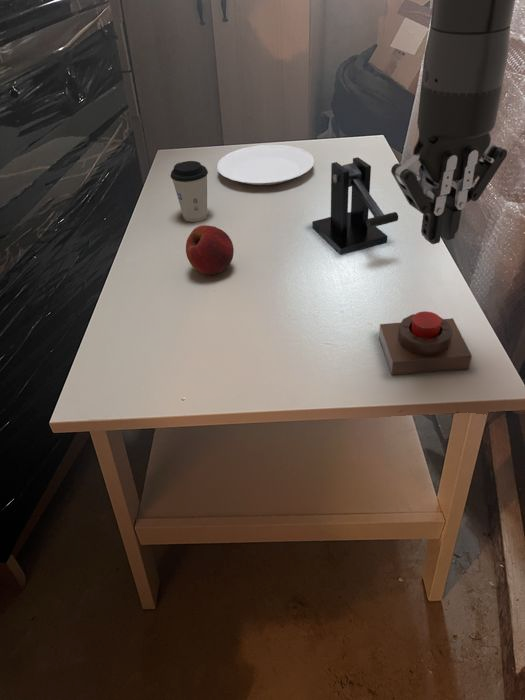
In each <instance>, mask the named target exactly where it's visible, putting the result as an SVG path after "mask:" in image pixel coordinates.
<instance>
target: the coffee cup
mask: <svg viewBox="0 0 525 700" xmlns="http://www.w3.org/2000/svg"><path fill="white" fill-rule="evenodd" d="M208 174H209V171H208V169H207V167H206V166H205V165H203V164H202V163H201V162H199V161H197V160H187V161H181V162H177V163H176V164H174V166H173V169H172V170H171V172H170V179H172V183H173V185H174V190H175V192H176V193H175V194H176V196H177V199H178V203H179V207H180V210H181V213H182V216H183V217H182V218H183V220H185V221H186V222H189V223H191V222H192V223H196V222H200V221H203V220H205V219H206V218H207V217H208Z"/></svg>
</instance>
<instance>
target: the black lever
mask: <svg viewBox="0 0 525 700" xmlns="http://www.w3.org/2000/svg"><path fill="white" fill-rule="evenodd" d="M341 166H343V167H344V168H345V169H347V170H348V171H349V188H352V186H353V187H354V188H355V190H356V191H357V193H358V194H359V196H360V197H361V198H362V200H363V201H364V203H365V204H366V206H367V207H368V209H369V212H370V213H371V215H372V216H373V217H370V218H369V217H368V219H367V220H366V225H367V227H368V228H372V227H379V226H383V225H387V224H391V223H395V222H398V221H399V214H398V212H396V211H394V212H390V213H386V214H385V213H384V212H383V211H382V210H381V208H380V206H379V205H378V204H377V202H376V201H375V199H374V198H373V196H372V195H371V193H370V194H369V192H368V191H367V190H366V188H365V187H364V185H363V184H362V183H361V181H360V178H361V174H362V173H361V172H360V170H359V169H358V167H357V166H356V165H355V163H353V162H351V163H347V164H343V165H341Z"/></svg>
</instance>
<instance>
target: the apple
mask: <svg viewBox="0 0 525 700" xmlns="http://www.w3.org/2000/svg"><path fill="white" fill-rule="evenodd" d="M234 250H235V247H234V244H233V241H232V239H231V238H230V236H229V235H228V233H226V232H225V231H224V230H222V229H221V228H219V227H216V226H214V225H207V224H202V225H199V226H196V227H195V228H193V229H192V231H191V232H190V234H189V235H188V237H187V240H186V242H185V255H186V257H187V258H186V259H187V260H188V262H189V264H190V266H192V267H193V269H194V270H196V271H197V272H199V273H200V274H203V275H207V276H208V275H209V276H210V275H216V274H220V273H222V272H223V271H224V270H226V269H227V268H228V267H229V266H230V265H231V263H232V261H233V259H234V252H235V251H234Z"/></svg>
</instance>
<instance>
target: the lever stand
mask: <svg viewBox="0 0 525 700" xmlns="http://www.w3.org/2000/svg"><path fill="white" fill-rule="evenodd" d="M352 163H355V165H356V166H357V167H358V169H359V170H360V172H361V173H362V174H361V178H360V181H361V183H362V184H363V185H364V187H365V188H366V190H367V191H368V192H369V194H370V195H371V193H370V192H371V191H370V190H371V175H372V166H371V165H370V164H369V163H367V162H366V161H365V160H363V159H361V158H360V157H358V156H357V157H353V158H352ZM330 169H331V170H330V172H331V173H330V216H328V217H324V218H321V219H317V220H313V221H312V222H311V226H312V229H313V230H315V231H316V233H318V234H319V235H320V236H321V237H322V238H323V240H325V241H326V242H327V243H328V244H329V245H330V246H331V247H332V248H333V249H334V250H335V251H336V252H337V253H338V254H339V255H344V254H348V253H351V252H355V251H360V250H363V249H367V248H370V247H374V246H377V245H381V244H385V243H387V242H388V235H387V234H386V233H385V232H383V231H382V230H381V229H379V228H378V226H376V227H372V228H368V227H367V225H366V220H367V219H369V212H370V210H369V209H368V207H367V206H366V204H365V203H364V201H363V200H362V198H361V197H360V196H359V194H358V193H357V191H356V190H355V188H354V187H353V186H351V196H350V197H351V201H350V211H349V189H350V187H349V171H348V170H347V169H345V168H344V167H343V166H342V165H341V164H340V163H339V162H337V161H335V162H331V164H330Z"/></svg>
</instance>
